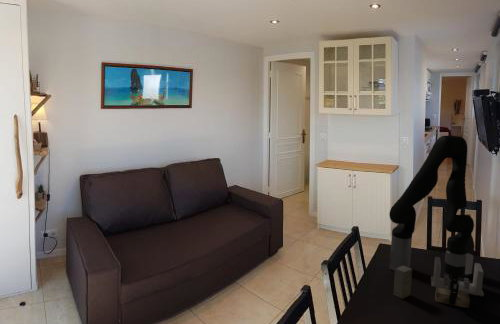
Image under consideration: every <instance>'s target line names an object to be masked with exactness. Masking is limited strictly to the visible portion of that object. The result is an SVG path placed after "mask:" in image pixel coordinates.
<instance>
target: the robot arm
mask: <svg viewBox="0 0 500 324" xmlns="http://www.w3.org/2000/svg"><path fill="white" fill-rule="evenodd" d="M446 159H451V164H452V167H451V172H450V175H449V177H448V180H447V181H446V182H447V183H446V185H445V194H446V196H445V198H446V207H445V213H444V214H445V215H444V218H443V226H444V227H445V229H446V231H448V232H449V233H456V234H454V235H451V236H449V237H448V238H447V239H446V240H447V241H446V251H445V254H444V265H443V266H444V268H443V270H444V272H445V273H446V275H448V285H449V286H448V287H449V290H450V293H449V294H450V299H449V303H450V304H449V305H451V304H455V303H456V297H457V296H458V290H459V283H460V281H461V280H460V277H461V276H464V275H465V268H466V250H467V243H468V241H469V238H470V236H471V235H472V234H473V231H474V228H475V222H474V219H473V218H472V216H469V215H466V214H458V211H459V210H462V209H465V208H466V207H467V204H468V201H467V192H466V172H467V162H468V161H467V159H468V143H467V141H466V139H465V138H464V137H462V136H457V135H441V136H440V137H438V138H437V139H436V140H435V141H434V144H433V146H432V148H431V150H430V151H429V153H428V155H427V157H426V159H425V160H424V162H423V163H422V165H421V166H420V169H419V170H418V171H417V173H416V174H415V175H414V177H413V178H412V180H411V181H410V183H409V185H408V186H407V187H406V189H405V190H404V192H403V193H402V195H401V196H400V197H399V198H398V200H396V202H395V203H393V205H392V206H391V207H390V210H389V214H388V215H389V219H390V221H391V222H392V223H394V224H396V226H395V227H394V228H393V229H392V230H391V242H390V243H391V244H390V252H389V268H388V269H389V270H392V271H393V272H395V268H398V267H400V266H403V265H404V266H406V267H409V268H411V256H412V255H411V254H412V242H413V241H412V240H413V234H414V232H415V228H416V219H417V211H416V208H415V207H414V206H415V205H417V203H419V202H420V201H422V200H423V199H425V198H426V197H427V196H428V195H430V193H431V192H432V191H433V190H434V188H435V187H436V185H437V184H438V180H439V169H440V166H441V165H442V163H443V162H444V161H445V160H446ZM452 292H455V293H452Z"/></svg>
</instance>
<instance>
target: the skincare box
mask: <svg viewBox="0 0 500 324" xmlns="http://www.w3.org/2000/svg"><path fill="white" fill-rule="evenodd" d="M412 273H413V268H411V267H410V268H409V267H406V266H404V265H403V266H400V267H398V268H395V271H394V282H393V295H394V296H396V297H397V298H400V299H405V298H406V297H407V298H408V297H409V296H411V292H412V291H411V289H412V279H413V278H412V275H413V274H412Z"/></svg>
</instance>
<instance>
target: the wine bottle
mask: <svg viewBox="0 0 500 324" xmlns="http://www.w3.org/2000/svg"><path fill="white" fill-rule="evenodd" d="M465 215H469V216H470V217H472V216H471V213H470V214H469V213H466V214H465ZM474 255H475V241H474V238H473V235H472V234H471V236H470V238H469V241H468V243H467V250H466V268H465V275H464V276H462V278H471V277H472V272H473V264H474ZM470 276H471V277H470Z"/></svg>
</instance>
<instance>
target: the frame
mask: <svg viewBox="0 0 500 324" xmlns="http://www.w3.org/2000/svg"><path fill="white" fill-rule="evenodd" d="M433 265H434V266H433V275H431V276H430V283H431V284H430V285H431V287H432V288H436V287H438V288H443V289H448V290H449V287H448V286H449V285H448V275H449V274H443V275H444V276H443V278H442V277H441V269H442V263H441V257H439V256H434V263H433ZM473 268H474V269H473V278H472V283H471V282H470V279H469V277H463V281H461V280H460V283H459V290H458V291H459V292H464V293H468V294H469V295H473V296H478V295H479V296H478V297H483V296H485V295H484V291H483V282H484V281H483V279H484V270H483V268H482V264H481V263H477V262H475V263H474V267H473Z"/></svg>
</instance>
